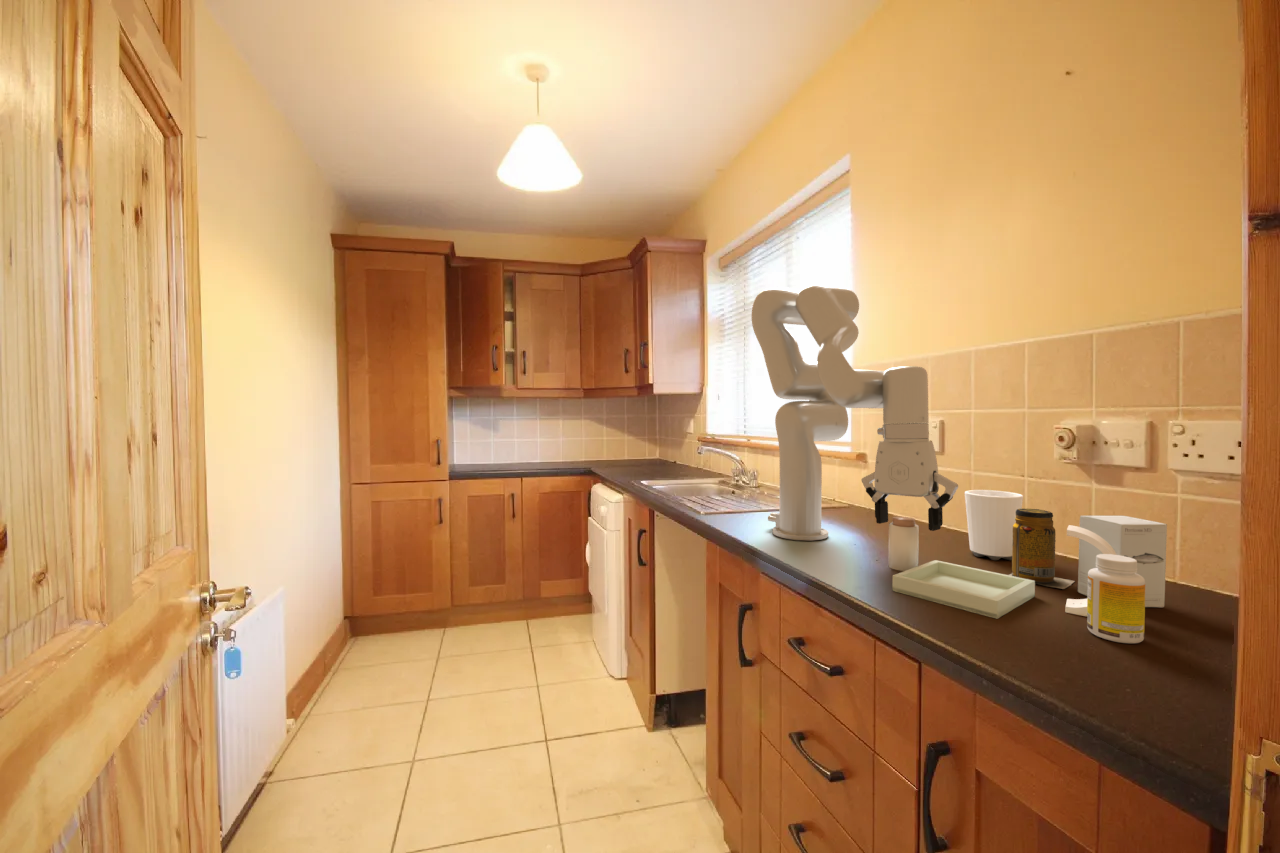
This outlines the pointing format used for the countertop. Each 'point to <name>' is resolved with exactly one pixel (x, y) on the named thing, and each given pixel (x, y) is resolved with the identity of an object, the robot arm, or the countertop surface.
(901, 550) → the shaker
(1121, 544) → the supplement box
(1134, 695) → the countertop surface
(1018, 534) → the condiment
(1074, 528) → the headphone stand
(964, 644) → the countertop surface
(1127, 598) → the supplement bottle
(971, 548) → the cup
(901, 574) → the tray
